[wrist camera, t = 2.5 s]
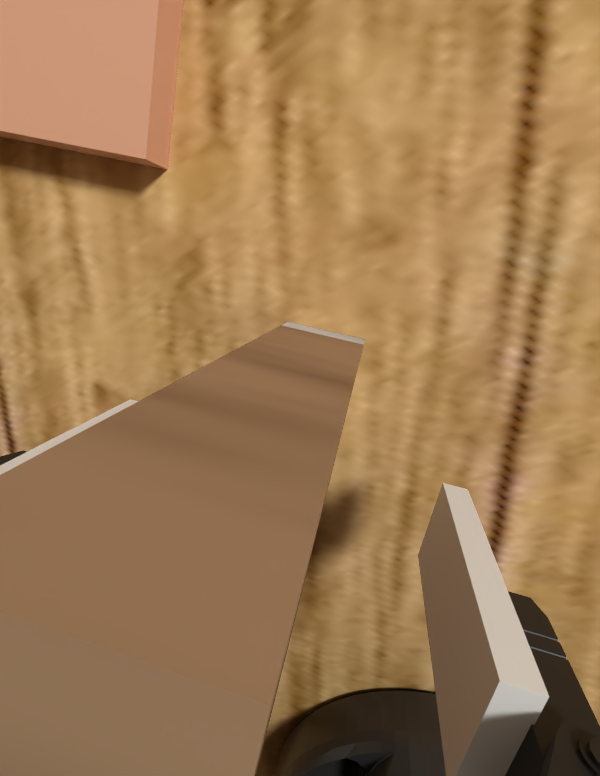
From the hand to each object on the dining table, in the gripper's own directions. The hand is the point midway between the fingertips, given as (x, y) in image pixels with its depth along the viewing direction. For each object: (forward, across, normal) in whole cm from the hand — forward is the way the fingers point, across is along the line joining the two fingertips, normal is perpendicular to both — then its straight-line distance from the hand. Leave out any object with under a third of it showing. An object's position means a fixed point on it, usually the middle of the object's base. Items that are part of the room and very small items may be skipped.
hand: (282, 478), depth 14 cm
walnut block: (+4, 0, 0) cm, 4 cm away
